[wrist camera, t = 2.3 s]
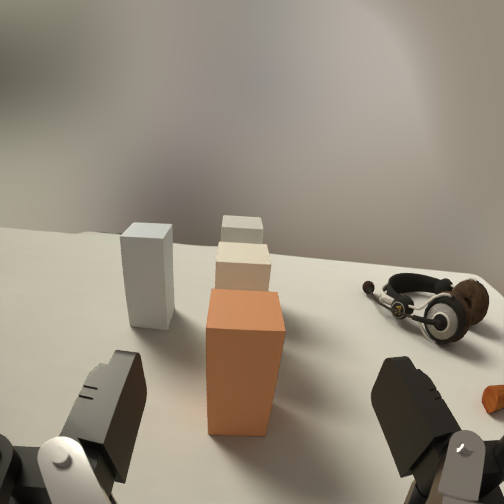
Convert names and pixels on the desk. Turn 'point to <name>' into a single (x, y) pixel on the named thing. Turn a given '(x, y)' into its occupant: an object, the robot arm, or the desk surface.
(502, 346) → the desk surface
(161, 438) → the desk surface
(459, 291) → the headset
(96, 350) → the desk surface
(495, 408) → the purple maraca
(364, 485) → the desk surface
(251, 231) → the grey block
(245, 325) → the rust block
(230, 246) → the cream block
